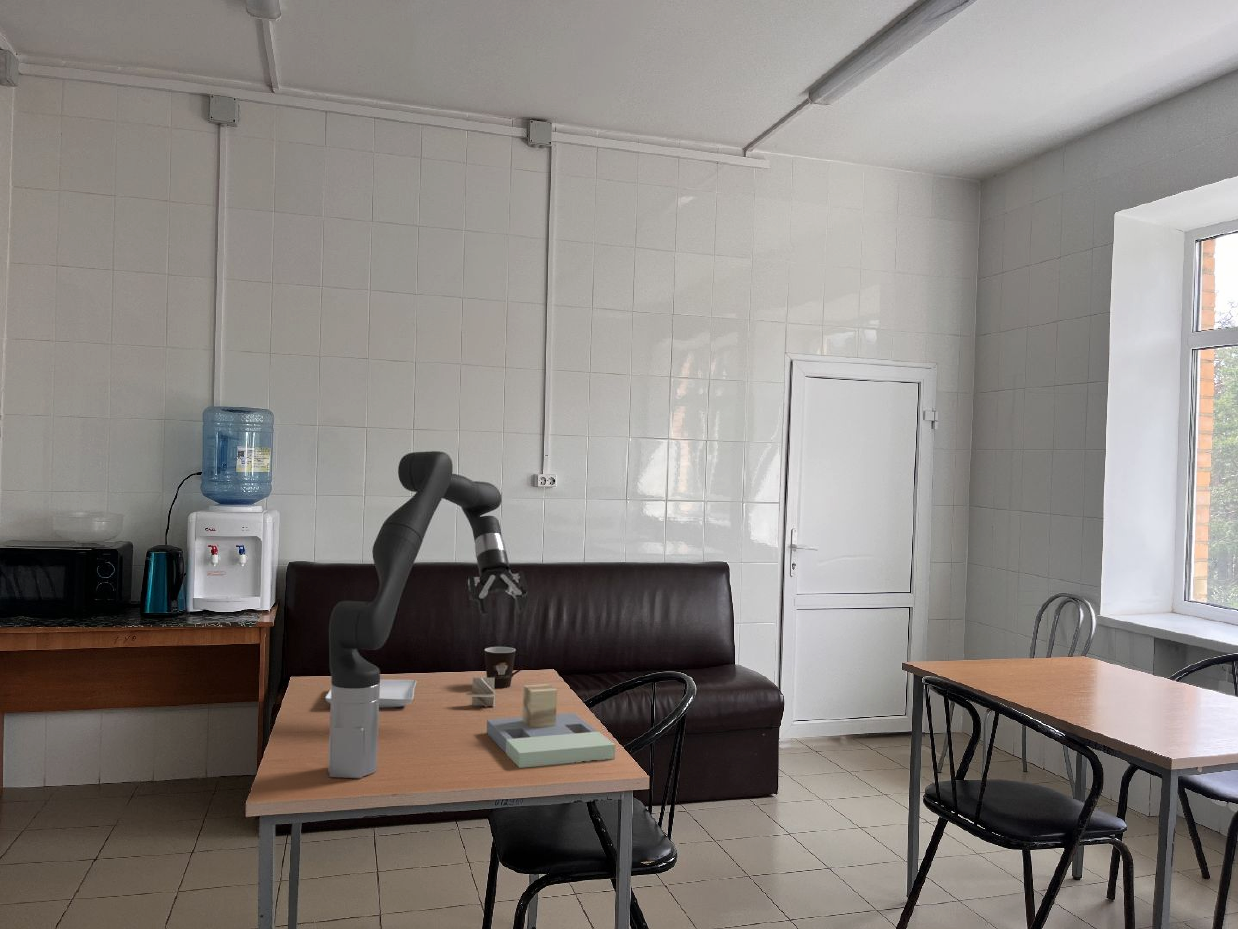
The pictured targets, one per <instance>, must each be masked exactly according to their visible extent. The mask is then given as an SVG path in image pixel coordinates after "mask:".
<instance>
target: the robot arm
mask: <svg viewBox="0 0 1238 929" xmlns="http://www.w3.org/2000/svg"><path fill="white" fill-rule="evenodd" d="M453 467H454V466H453V461H452V459H451V457H450V455H449V454H448V453H446V452H443V451H437V450H432V451H415V452H414V451H413V452H409V453H406V454H405V455H403V456H402V457H401V459H400V460H399V463H398V467H397V474H398V479H399V480H398V481H399V482H400V484H401V485H402V488H404V489H405V490H407V491H408V492H412V493H413V492H414V493H415V494H414V495H413V496H412V497H411V498H409V500H407V501H406V502H405V503H403V504H402V505H401V506H400V507H399V508H397V509H396V510H395V511H394V512H392V513H391V514H390V515H389V516H388V517H387V518H386V519H385V520H384V522H383V523H382V526H381V527H380V529H379V532H378V534H377V536H376V538H375V541H374V543H373V546H372V550H371V552H372V560H373V563H374V566H375V570H376V572H377V576H378V577H377V578H378V580H379V587H378V592H377V595H376V596H375V598H374V600H373V601H356V600H355V601H354V600H343V601H339V602H338V603H337V604H336V605H334V607H333V610H332V612H331V615H330V619H329V625H328V626H329V627H328V636H329V637H328V645H329V647H328V648H329V649H328V650H329V653H328V654H329V663H328V664H329V672H330V677H331V687H330V690H331V704H330V710H329V711H330V713H329V715H330V716H329V739H328V741H329V742H328V767H327V768H328V769H327V770H328V772H327V773H328V774H329V777H330V778H346V779H347V778H349V779H362V778H363V777H365V776H369V775H371V774H372V775H373V774H374V773H375V772H377V769H378V748H379V747H378V740H379V738H378V737H379V719H380V717H379V715H380V714H379V712H380V708H379V693H380V679H381V670H380V668H379V667H378V666H376V665H375V664H373V663H371V662H370V661H368V660H366V659H365V658H363V656H361V655H360V652H359V651H358V650H364V651H367V650H368V651H369V650H370V651H375V650H379V649H381V648H382V647H383V646H384V645H385V643H386V641H387V640H388V638H389V636H390V633H391V630H392V627H393V623H394V620H395V617H396V614H397V611H398V607H399V604H400V601H401V597H402V593H403V590H404V589H405V586H406V582H407V581H408V578H409V575H410V572H411V570H412V567H413V565H414V563H415V561H416V559H417V556H418V554H419V551H420V549H421V546H422V544H423V541H424V538H425V536H426V533H427V530H428V528H429V525H430V523H431V520H432V519H433V516H434V514H435V513H436V510H437V509H438V506H439V505H440V503H441V501H442V499H443V500H446V501H448V502H450V503H453V504H455V505H457V506H459V507H460V508H461V509H462V510H461V511H462V512H463V514H464V515H465V517H466V518H467V521H468V523H469V526H470V527H471V531H472V534H473V541H474V551H475V559H476V562H477V567H478V572H479V573H478V574H479V576H474V575H472V574H470V575H469V576H468V580H467V586H468V597H469V601H470V602H477V604H478V609H479V614H481V615H482V617H487V616H488V607H487V602H486V599H485V598H486V597H487V595H488V594H489V593H491V594H497V593H504V592H505V593H507V594H508V595H510V596H512V597H513V598H514V602H515V608H516V612H517V614H520V613H522V611H523V610H524V606H525V604H524V601H523V598H525V597H527V595H528V592H529V588H528V587H529V586H528V582H527V580H526V577H525V573H524V571H522V570H520V571H519V572H518V573H512V572H511V569H510V563H509V559H508V554H507V549H506V545H505V542H504V539H503V536H502V535H503V534H502V530H501V529H502V528H501V526H500V522H499V520H498V518H497V517H496V516H493V515H486V514H488V513H490V512H492V511H495V510H496V509H498V508H500V506H501V504H502V493H501V492H500V490H499V488H497V486H495V485H494V484H492V483H490V482H488V481H487V482H486V481H473V480H471V479H470V478H467V477H466V476H465V475H464V476H463V475H460V474H457V473H453V472H454V471H453ZM513 580H515V582H516V583H518V586H519V588H518V587H517V585H516V584H515V582H513ZM478 583H479V584H480V585H481V586H482V587H483V588H482V589H481V592H480V593H479V594H478V593H477V591H476V587H477V585H478Z"/></svg>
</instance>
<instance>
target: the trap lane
mask: <svg viewBox="0 0 1238 929" xmlns="http://www.w3.org/2000/svg"><path fill="white" fill-rule="evenodd" d="M522 720H523V716H518V717H517V716H516V717H504V718H491V719H486V734H487V735H488V736H489V737H490V738H491V740H493V742H495V743H496V745H498V746H499V748H500V749H501V750H502V751H503V752H504V753H505V754H506V755H507V757H508V758H509V759H511V762H512V761H513V763H514V764H515V765H516V766H517V767H518V768H519V769H523V768H524V769H525V768H531V767H542V766H543V767H544V766H553V765H555V766H556V765H565V764H574V763H575V762H576V763H583V762H582V761H586V762H591V761H590V760H597V761H604V760H606V759H607V760H615V759H616V744H615V743H614V742H613V741H612V740H610V739H609V738H607V737H606V736H605V735H603V734H602V733H601V732H599V730H596V728H594V727H593V726H591V725H590V724H589V723H587V722H586V721H585V720H584V719H582V718H581V717H579V715H577V714H576V713H574V712H573V713H572V712H570V713H569V712H568V713H560V714H559V713H556V726H545V727H533V728H530V727H529V726H528V725H527V724H526V723H525V722H523V721H522Z"/></svg>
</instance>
